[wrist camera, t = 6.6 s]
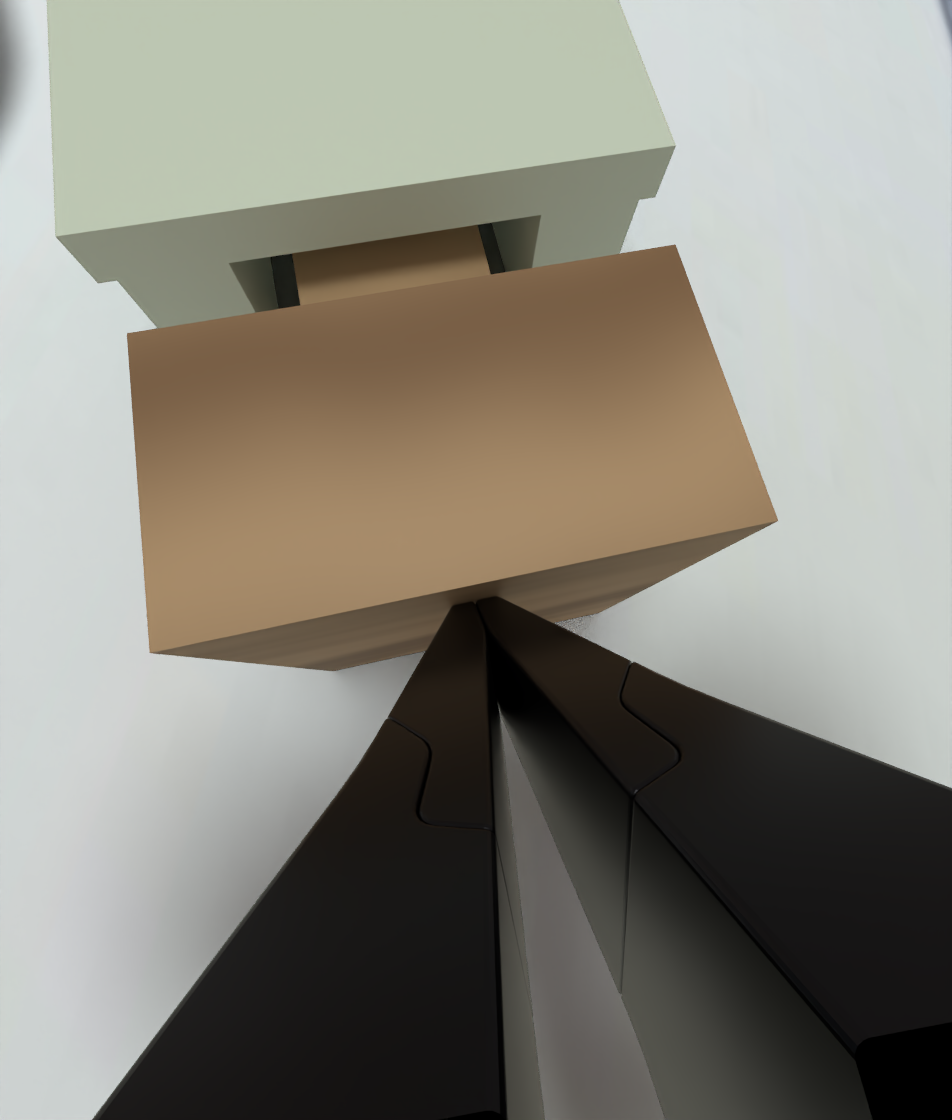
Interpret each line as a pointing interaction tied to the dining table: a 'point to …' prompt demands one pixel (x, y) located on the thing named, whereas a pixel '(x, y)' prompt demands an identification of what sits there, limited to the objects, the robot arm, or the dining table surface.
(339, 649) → the rectangular block
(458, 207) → the green miniature desk
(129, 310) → the dining table surface
